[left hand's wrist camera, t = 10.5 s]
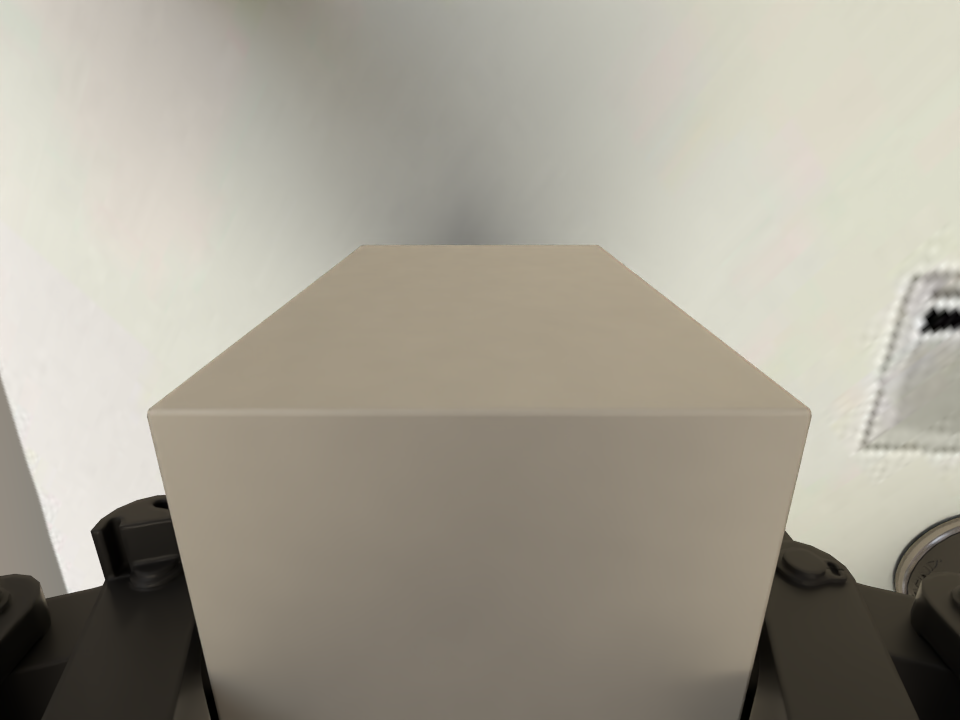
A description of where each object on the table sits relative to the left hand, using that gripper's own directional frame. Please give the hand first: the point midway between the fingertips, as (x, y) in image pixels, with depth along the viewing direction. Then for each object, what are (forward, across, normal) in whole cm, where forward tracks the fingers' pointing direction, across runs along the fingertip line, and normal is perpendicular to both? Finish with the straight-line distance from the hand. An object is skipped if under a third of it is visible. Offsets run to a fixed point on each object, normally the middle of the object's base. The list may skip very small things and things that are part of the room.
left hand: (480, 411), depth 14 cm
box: (+1, 0, -9) cm, 9 cm away
